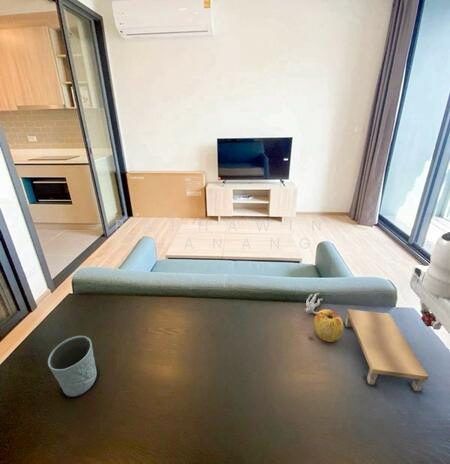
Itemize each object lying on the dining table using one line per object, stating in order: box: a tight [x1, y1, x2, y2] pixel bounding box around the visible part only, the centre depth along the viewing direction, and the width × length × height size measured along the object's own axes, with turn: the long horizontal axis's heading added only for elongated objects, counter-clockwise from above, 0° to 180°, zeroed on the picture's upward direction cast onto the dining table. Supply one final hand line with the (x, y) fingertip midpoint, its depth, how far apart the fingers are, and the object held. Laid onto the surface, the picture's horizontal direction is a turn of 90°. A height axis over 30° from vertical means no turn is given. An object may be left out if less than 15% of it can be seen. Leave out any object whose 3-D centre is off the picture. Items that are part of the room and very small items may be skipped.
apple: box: [313, 308, 344, 343], centre depth 83 cm, size 9×9×10 cm
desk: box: [344, 308, 429, 392], centre depth 78 cm, size 14×22×6 cm, turn 172°
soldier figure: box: [303, 292, 324, 315], centre depth 96 cm, size 8×5×12 cm
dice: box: [421, 312, 436, 327], centre depth 75 cm, size 4×4×4 cm
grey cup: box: [47, 335, 98, 397], centre depth 68 cm, size 10×10×12 cm
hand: (429, 320), depth 75 cm, fingers closed on dice, 4 cm apart
